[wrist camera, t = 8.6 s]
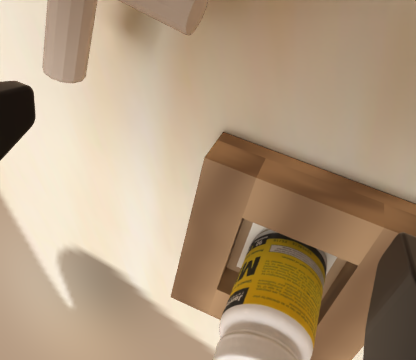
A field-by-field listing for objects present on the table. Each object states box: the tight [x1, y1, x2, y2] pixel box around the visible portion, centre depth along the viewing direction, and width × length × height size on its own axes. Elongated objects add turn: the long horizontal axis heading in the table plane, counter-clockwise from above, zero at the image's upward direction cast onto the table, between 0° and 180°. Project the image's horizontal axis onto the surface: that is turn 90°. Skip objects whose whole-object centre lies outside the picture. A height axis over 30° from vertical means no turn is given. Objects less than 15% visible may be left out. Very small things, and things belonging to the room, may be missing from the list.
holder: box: [171, 132, 416, 360], centre depth 24 cm, size 12×12×3 cm
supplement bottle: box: [213, 230, 327, 360], centre depth 21 cm, size 5×5×8 cm
